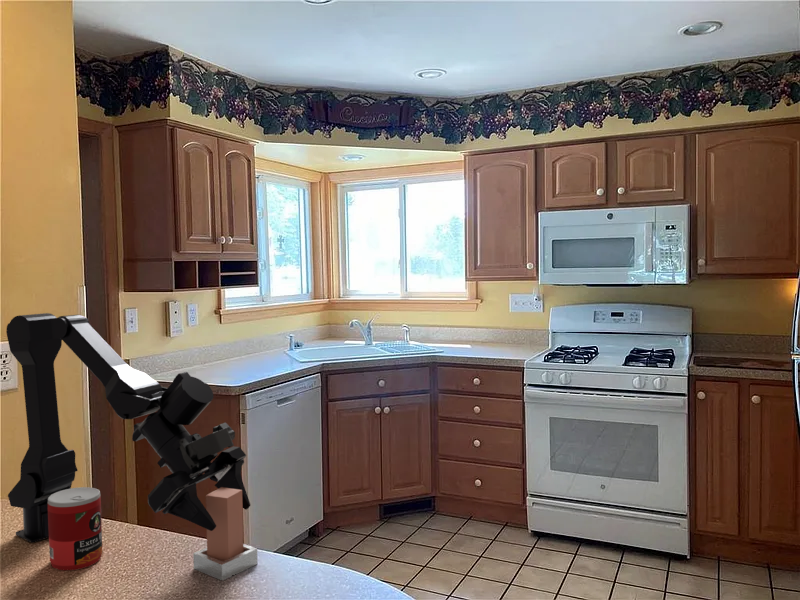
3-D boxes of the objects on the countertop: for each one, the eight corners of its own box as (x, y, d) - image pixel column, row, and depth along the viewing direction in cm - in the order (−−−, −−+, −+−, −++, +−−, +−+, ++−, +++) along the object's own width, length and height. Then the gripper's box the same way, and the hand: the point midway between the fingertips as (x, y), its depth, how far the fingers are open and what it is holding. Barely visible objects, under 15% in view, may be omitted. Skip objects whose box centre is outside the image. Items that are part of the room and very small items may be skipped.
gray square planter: (193, 568, 104) (193, 553, 104) (229, 552, 110) (228, 538, 109) (222, 580, 100) (221, 564, 100) (257, 563, 105) (257, 548, 105)
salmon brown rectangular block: (207, 569, 104) (205, 495, 103) (222, 559, 107) (221, 487, 107) (228, 573, 102) (227, 498, 102) (243, 562, 106) (242, 489, 105)
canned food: (82, 573, 103) (80, 504, 102) (38, 569, 104) (35, 501, 104) (113, 552, 110) (111, 488, 110) (71, 548, 112) (69, 485, 111)
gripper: (161, 424, 96) (226, 507, 93) (235, 399, 114) (292, 468, 110) (120, 471, 99) (182, 553, 96) (198, 440, 117) (253, 509, 113)
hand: (232, 517), depth 104 cm, fingers open, 9 cm apart
